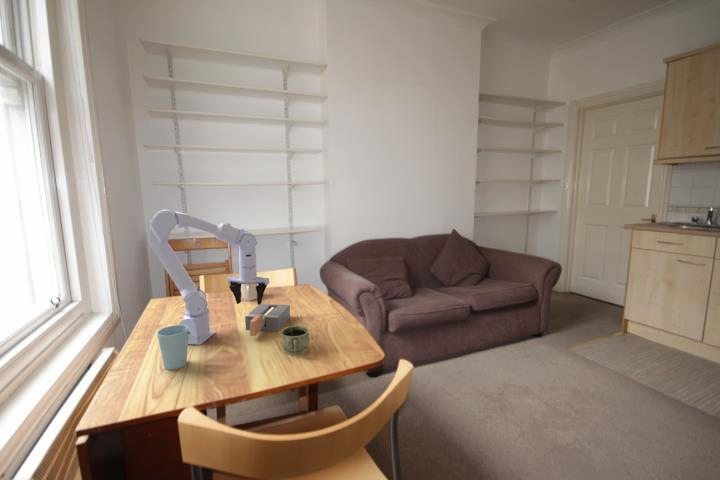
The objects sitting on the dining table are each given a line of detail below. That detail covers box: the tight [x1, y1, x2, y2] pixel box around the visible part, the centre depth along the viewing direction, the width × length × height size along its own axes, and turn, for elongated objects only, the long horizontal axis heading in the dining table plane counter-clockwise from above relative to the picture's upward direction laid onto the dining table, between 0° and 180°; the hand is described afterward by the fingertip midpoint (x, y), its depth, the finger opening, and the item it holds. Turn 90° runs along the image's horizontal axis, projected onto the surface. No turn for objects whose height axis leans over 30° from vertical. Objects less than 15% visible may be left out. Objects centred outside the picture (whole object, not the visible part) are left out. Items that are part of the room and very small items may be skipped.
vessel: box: [280, 325, 310, 356], centre depth 104 cm, size 12×9×6 cm
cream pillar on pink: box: [249, 307, 275, 337], centre depth 120 cm, size 20×2×5 cm, turn 175°
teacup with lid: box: [241, 284, 258, 302], centre depth 153 cm, size 12×9×12 cm
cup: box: [156, 324, 189, 371], centre depth 93 cm, size 8×8×10 cm
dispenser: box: [244, 303, 291, 332], centre depth 124 cm, size 14×12×6 cm
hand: (249, 303), depth 118 cm, fingers open, 7 cm apart
